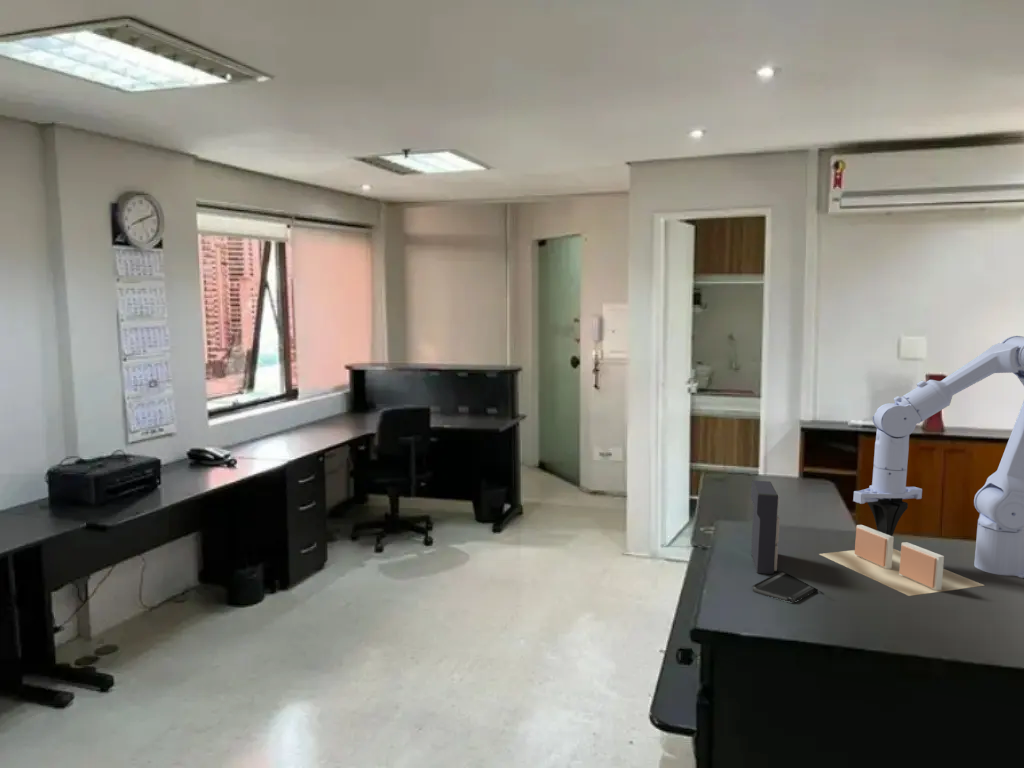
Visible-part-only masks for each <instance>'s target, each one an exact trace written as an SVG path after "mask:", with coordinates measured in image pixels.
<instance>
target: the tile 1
mask: <svg viewBox="0 0 1024 768" xmlns="http://www.w3.org/2000/svg"><path fill="white" fill-rule="evenodd" d="M855 528H856V529H855V530H856V531H855V542H854V550H855V556H858V557H860V558H862V559H865V560H867V561H869V562H871V563H874V564H876V565H878V566H881V567H883V568H885V569H891V568H892V555H893V549H894V542H895V541H894V540H895V539H894V538H895V537H894V536H890V535H887V534H885V533H882V532H879V531H877V529H874V528H871V527H869V526H866V525H863V524H857V525H856V527H855Z"/></svg>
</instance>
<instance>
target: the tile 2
mask: <svg viewBox="0 0 1024 768" xmlns="http://www.w3.org/2000/svg"><path fill="white" fill-rule="evenodd" d="M900 551H901V557H900V570H899V575H901V576H903V577H906V578H908V579H910V580H913V581H915V582H917V583H919V584H922V585H924V586H926V587H929V588H931V589H933V590H935V591H938V590H941V588H942V576H943V569H944V565H945V564H944V561H945V556H944V555H942V554H940V553H937V552H933V551H931V550H929V549H927V548H923V547H921V546H918V545H915V544H913V543H910V542H907V541H906V542H904V541H903V542H901V546H900Z"/></svg>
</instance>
